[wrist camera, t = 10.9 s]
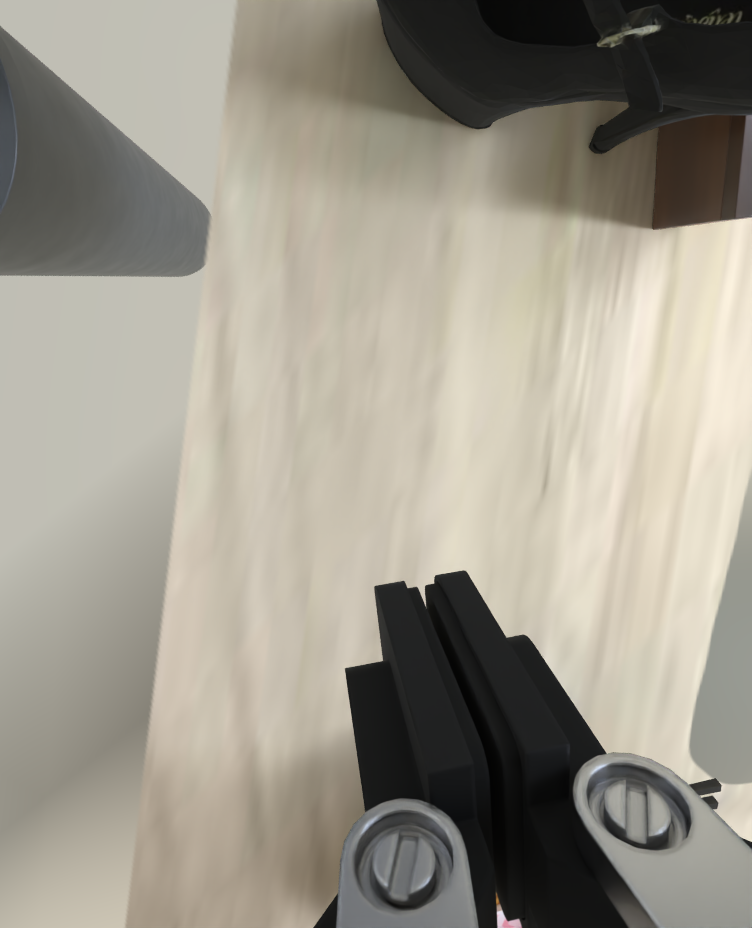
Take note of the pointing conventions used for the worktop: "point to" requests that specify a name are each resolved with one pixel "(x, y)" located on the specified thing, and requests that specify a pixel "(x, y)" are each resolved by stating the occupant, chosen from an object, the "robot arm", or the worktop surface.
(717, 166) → the shoe rack rail
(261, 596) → the worktop surface
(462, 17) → the high-heeled shoe
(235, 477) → the worktop surface
